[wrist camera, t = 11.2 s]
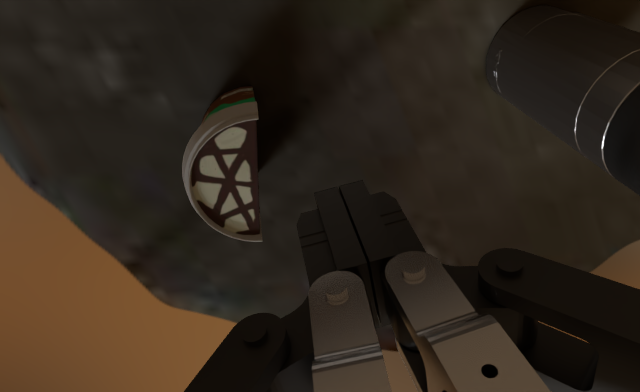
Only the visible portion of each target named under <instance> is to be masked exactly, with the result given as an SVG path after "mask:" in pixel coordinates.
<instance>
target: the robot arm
mask: <svg viewBox="0 0 640 392" xmlns="http://www.w3.org/2000/svg"><path fill="white" fill-rule="evenodd" d="M486 73H487V78H488V81H489V83H490V85H491V87H492V88H493V89H494V91H495V92H497V93H498V94H499V95H500V96H502V97H503V98H504V99H506V100H507V101H508V102H510V103H511V104H513V105H514V106H515V107H517V108H518V109H519V110H521V111H522V112H523V113H525V114H526V115H528V116H529V117H530V118H532V119H533V120H535V121H536V122H537V123H539V124H540V125H542V126H543V127H544V128H546V129H547V130H548V131H550V132H551V133H553V134H554V135H555V136H557V137H558V138H560V139H561V140H562V141H564V142H565V143H567V144H568V145H569V146H571V147H572V148H573V149H575V150H576V151H578V152H579V153H580V154H582V155H583V156H585V157H586V158H588V159H589V160H590V161H592V162H593V163H595V164H596V165H597V166H599V167H600V168H602V169H603V170H604V171H606V172H607V173H608V174H610V175H611V176H613V177H614V178H615V179H617V180H618V181H620V182H621V183H623V184H624V185H625V186H627V187H628V188H630V189H631V190H633V191H634V192H635V193H637V194H638V195H639V196H640V32H637V31H633V30H630V29H627V28H624V27H621V26H618V25H615V24H612V23H609V22H606V21H603V20H600V19H597V18H594V17H591V16H588V15H584V14H581V13H578V12H574V13H571V12H568V11H565V10H562V9H559V8H556V7H552V6H535V7H531V8H528V9H526V10H524V11H521V12H519V13H518V14H516V15H515V16H514V17H512V18H511V19H509V20H508V21H507V22H506V23H505V24H504V25H503V26H502V27H501V29H500V30H499V32H498V33H497V34H496V36H495V37H494V39H493V41H492V43H491V45H490V48H489V51H488V55H487V60H486ZM314 196H315V200H316V204H317V208H318V209H316V210H312V211H308V212H305V213H301V215H300V218H299V220H298V223H297V230H298V234H299V238H300V243H301V248H302V252H303V257H304V261H305V266H306V270H307V275H308V279H309V285H310V289H309V293H308V296H307V298H306V300H305V301H304V302H303V304H302V305H301V306H300V307H299V308H297V309H296V310H295V311H293V312H292V313H290V314H288V315H286V316H285V317H283V318H281V319H280V318H279V317H278V316H276V315H273V314H270V313H258V314H253V315H251V316H248V317H246V318H244V319H243V320H241V321H240V322H239V323H237V324H236V325H235V326H234V327H233V329H232V330H231V331H230V332H229V334H228V335H227V337H226V338H225V339H224V340H223V342H222V343H221V344H220V345H219V347H218V348H217V349H216V351H215V352H214V353H213V355H212V356H211V357H210V358H209V360H208V361H207V362H206V364H205V365H204V366H203V368H202V369H201V370H200V371H199V373H198V374H197V375H196V377H195V378H194V379H193V380H192V382H191V383H190V384H189V386H188V387H187V388H186V390H185V391H184V392H392V391H391V387H390V383H389V379H388V375H387V371H386V367H385V363H384V359H383V355H382V351H381V348H380V346H379V342H378V338H377V333H376V328H379V323H378V318H379V320H380V323H381V326H382V327H383V326H386V325H390V324H391V326H392V328H393V331H394V334H395V338H396V344H397V349H398V351H399V353H400V356H401V357H402V360H403V362H404V364H405V366H406V368H407V370H408V372H409V374H410V376H411V378H412V380H413V382H414V384H415V386H416V388H417V390H418V392H640V289H637V288H633V287H630V286H627V285H624V284H621V283H618V282H615V281H612V280H609V279H606V278H603V277H600V276H597V275H594V274H591V273H588V272H585V271H582V270H579V269H576V268H573V267H570V266H567V265H564V264H561V263H558V262H555V261H552V260H549V259H546V258H543V257H540V256H537V255H534V254H531V253H528V252H525V251H521V250H518V249H512V248H502V249H496V250H493V251H490V252H488V253H487V254H485V255H484V256H483V257H482V258H481V259H480V261H479V264H478V266H462V267H459V266H449V265H445V264H442V263H440V261H439V260H438V259H437V258H436V257H434V256H433V255H431V254H428V253H426V251H425V249H424V248H423V246H422V244H421V242H420V241H419V239H418V237H417V235H416V234H415V232H414V230H413V228H412V227H411V225H410V223H409V221H407V218H406V216H405V214H404V213H403V212H402V209H401V207H400V206H399V204H398V202H397V200H396V199H395V198H393V197H392V196H390V195H389V194H387V193H385V192H380V193H376V194H372V195H370V194H369V192H368V190H367V188H366V186H365V184H364V182H363V180H360V181H357V182H353V183H349V184H345V185H341V186H339V190H338V187H334V188H330V189H327V190H323V191H319V192H315V193H314ZM377 315H378V317H377ZM538 321H540V322H543V323H545V324H548V325H550V326H553V327H555V328H557V329H560V330H562V331H565V332H567V333H569V334H572V335H574V336H576V337H579V338H581V339H583V340H585V341H587V342H589V343H590V344H589V343H587V342H584V341H582V340H580V339H577V338H575V337H572V336H570V335H568V334H566V333H563V332H561V331H558V330H556V329H554V328H551V327H549V326H546V325H544V324H541V323H539V322H538Z"/></svg>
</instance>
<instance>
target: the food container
mask: <svg viewBox="0 0 640 392" xmlns="http://www.w3.org/2000/svg"><path fill="white" fill-rule="evenodd" d="M256 120H259V118H258V108H257V102H255V97H254V92H253V87H252V86H246V87H239V88H236V89H234V90H231V91H228V92H226V93H224V94H222V95H221V96H220V97H219V98H218V99H216V100H215V101H214V102H213V103H212V104H211V105H210V107H209V109H208V110H207V112H206V113H205V115H204V117H203V121H202V124H201V126H200V127H199V128H198V129H197V130H196V132H195V133H194V134H193V135H192V137H191V139H190V141H189V143H188V144H187V147H186V150H185V153H184V156H183V163H182V176H183V181H184V185H185V189H186V192H187V195H188V197H189V200H190V202H191V204H192V206H193V207H194V209H195V210H196V212H197V213H198V214H199V215H200V216H201V218H202V219H203V220H204V221H205V222H206V223H207V224H208V225H210V226H211V227H212V228H214V229H215V230H217V231H218V232H220V233H222V234H224V235H227V236H229V237H232V238H235V239H239V240H243V241H252V242H262V232H261V222H260V211H259V209H260V207H259V185H258V172H259V171H258V155H257V151H258V148H257V126H256Z"/></svg>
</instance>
